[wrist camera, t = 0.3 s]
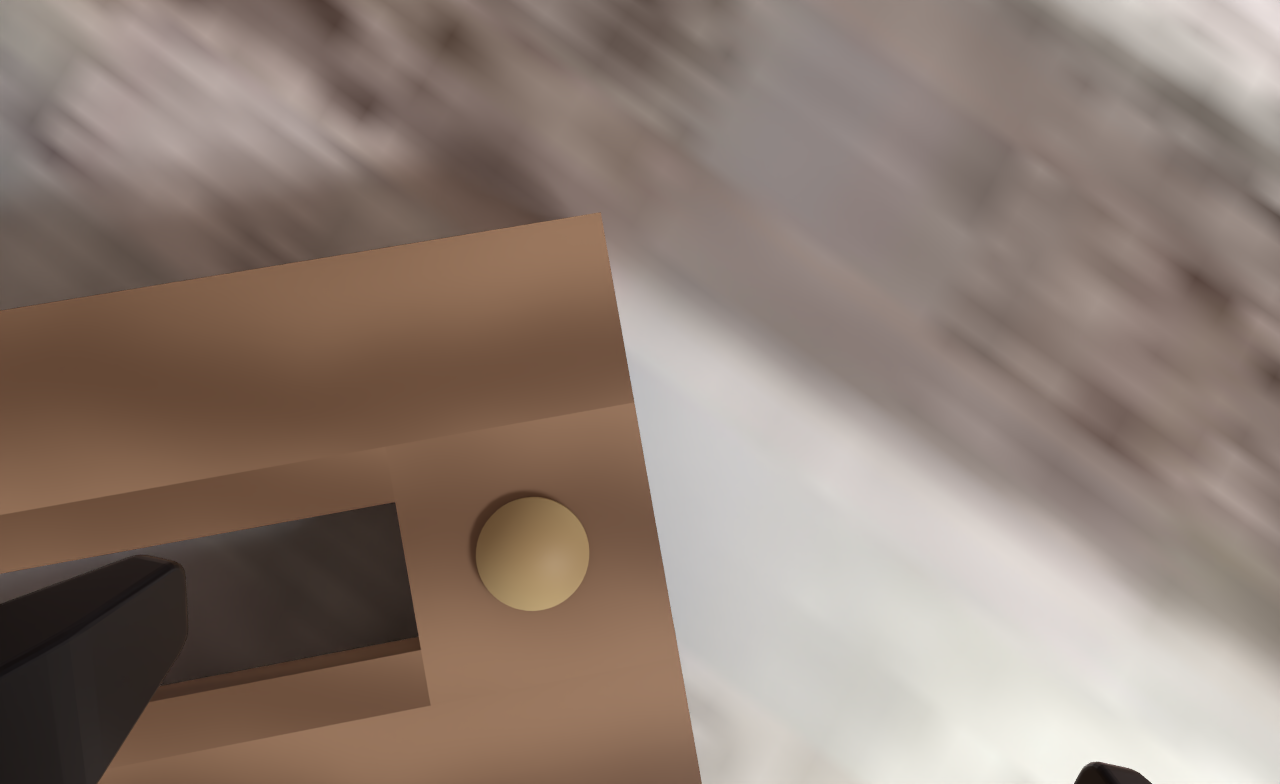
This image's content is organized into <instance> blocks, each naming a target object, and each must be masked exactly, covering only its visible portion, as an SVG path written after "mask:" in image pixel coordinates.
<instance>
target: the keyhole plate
mask: <svg viewBox="0 0 1280 784" xmlns="http://www.w3.org/2000/svg"><path fill="white" fill-rule="evenodd" d="M393 502H395V504H396V510H397V516H398V521H399V527H400V533H401V538H402V544H403V550H404V556H405V561H406V567H407V573H408V578H409V584H410V590H411V596H412V601H413V607H414V613H415V618H416V624H417V630H418V636H419V637H414V638H409V639H403V640H398V641H393V642H388V643H383V644H377V645H372V646H367V647H362V648H356V649H351V650H346V651H341V652H335V653H330V654H325V655H320V656H314V657H309V658H304V659H299V660H294V661H288V662H283V663H278V664H273V665H267V666H262V667H257V668H252V669H246V670H241V671H236V672H231V673H226V674H220V675H215V676H210V677H205V678H199V679H194V680H189V681H184V682H178V683H173V684H168V685H163V686H159V687H158V689H157V691H156V692H155V694H154V695H153V697H152V698H151V700H150V702H149V703H148V705H147V706H146V708H145V710H144V711H143V713H142V714H141V716H140V717H139V719H138V721H137V722H136V724H135V725H134V727H133V728H132V730H131V732H130V733H129V735H128V736H127V738H126V740H125V741H124V743H123V744H122V746H121V747H120V749H119V751H118V752H117V754H116V755H115V757H114V759H113V760H112V762H111V763H110V765H109V766H108V768H107V770H106V771H105V773H104V774H103V776H102V777H101V779H100V780H99V782H98V783H97V784H702V782H701V777H700V771H699V766H698V760H697V754H696V749H695V743H694V737H693V732H692V726H691V720H690V715H689V709H688V703H687V698H686V692H685V686H684V681H683V675H682V669H681V664H680V658H679V653H678V647H677V641H676V636H675V630H674V624H673V619H672V613H671V607H670V602H669V596H668V590H667V585H666V579H665V573H664V568H663V562H662V557H661V551H660V545H659V540H658V534H657V528H656V523H655V517H654V511H653V506H652V500H651V494H650V489H649V483H648V477H647V472H646V466H645V461H644V455H643V449H642V444H641V438H640V432H639V427H638V421H637V415H636V410H635V404H634V398H633V393H632V387H631V381H630V376H629V370H628V364H627V359H626V353H625V348H624V342H623V336H622V331H621V325H620V319H619V314H618V308H617V302H616V297H615V291H614V285H613V280H612V274H611V268H610V263H609V257H608V252H607V246H606V240H605V235H604V229H603V223H602V218H601V212H600V213H594V214H588V215H582V216H576V217H569V218H563V219H557V220H551V221H545V222H539V223H533V224H527V225H521V226H514V227H508V228H502V229H496V230H490V231H484V232H478V233H472V234H465V235H459V236H453V237H447V238H441V239H435V240H429V241H423V242H417V243H410V244H404V245H398V246H392V247H386V248H380V249H374V250H368V251H362V252H355V253H349V254H343V255H337V256H331V257H325V258H319V259H313V260H307V261H300V262H294V263H288V264H282V265H276V266H270V267H264V268H258V269H252V270H245V271H239V272H233V273H227V274H221V275H215V276H209V277H203V278H197V279H190V280H184V281H178V282H172V283H166V284H160V285H154V286H148V287H142V288H135V289H129V290H123V291H117V292H111V293H105V294H99V295H93V296H87V297H80V298H74V299H68V300H62V301H56V302H50V303H44V304H38V305H31V306H25V307H19V308H13V309H7V310H1V311H0V574H1V573H7V572H12V571H18V570H23V569H29V568H34V567H40V566H45V565H51V564H56V563H62V562H67V561H73V560H78V559H84V558H89V557H95V556H100V555H106V554H112V553H117V552H123V551H128V550H134V549H139V548H145V547H150V546H156V545H161V544H167V543H172V542H178V541H183V540H189V539H194V538H200V537H205V536H211V535H216V534H222V533H227V532H233V531H238V530H244V529H249V528H255V527H260V526H266V525H271V524H277V523H282V522H288V521H293V520H299V519H304V518H310V517H315V516H321V515H327V514H332V513H338V512H343V511H349V510H354V509H360V508H365V507H371V506H376V505H382V504H387V503H393Z"/></svg>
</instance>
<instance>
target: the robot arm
mask: <svg viewBox="0 0 1280 784" xmlns="http://www.w3.org/2000/svg"><path fill="white" fill-rule="evenodd" d="M187 632H188V615H187V593H186V576H185V571H184V569H183V567H182V566H181V564H179V563H177V562H175V561H171V560H167V559H162V558H158V557H153V556H148V555H135V556H132V557H129V558H126V559H123V560H120V561H118V562H115V563H112V564H109V565H107V566H104V567H101V568H98V569H96V570H93V571H90V572H87V573H85V574H82V575H79V576H76V577H74V578H71V579H68V580H65V581H63V582H60V583H57V584H54V585H52V586H49V587H46V588H43V589H41V590H38V591H35V592H32V593H30V594H27V595H24V596H21V597H19V598H16V599H13V600H10V601H8V602H5V603H2V604H0V784H97V783H98V782H99V780H100V779H101V777H102V776H103V774H104V773H105V771H106V770H107V768H108V766H109V765H110V763H111V762H112V760H113V759H114V757H115V755H116V754H117V752H118V751H119V749H120V747H121V746H122V744H123V743H124V741H125V740H126V738H127V736H128V735H129V733H130V732H131V730H132V728H133V727H134V725H135V724H136V722H137V721H138V719H139V717H140V716H141V714H142V713H143V711H144V710H145V708H146V706H147V705H148V703H149V702H150V700H151V698H152V697H153V695H154V694H155V692H156V691H157V689H158V687H159V686H160V684H161V683H162V681H163V679H164V678H165V676H166V675H167V673H168V672H169V670H170V668H171V667H172V665H173V664H174V662H175V660H176V659H177V657H178V656H179V654H180V652H181V650H182V648H183V646H184V643H185V640H186V637H187ZM1074 784H1152V783H1151V782H1149V781H1148V780H1147V779H1146V778H1145V777H1144V776H1142V775H1141V774H1140V773H1138V772H1136V771H1135V770H1132V769H1129V768H1125V767H1121V766H1116V765H1111V764H1107V763H1102V762H1091V763H1089V764H1087V765H1086V766H1084V768H1083V769H1082V770H1081V772H1080V774H1079V775H1078V777H1077V779H1076V781H1075V783H1074Z"/></svg>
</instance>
